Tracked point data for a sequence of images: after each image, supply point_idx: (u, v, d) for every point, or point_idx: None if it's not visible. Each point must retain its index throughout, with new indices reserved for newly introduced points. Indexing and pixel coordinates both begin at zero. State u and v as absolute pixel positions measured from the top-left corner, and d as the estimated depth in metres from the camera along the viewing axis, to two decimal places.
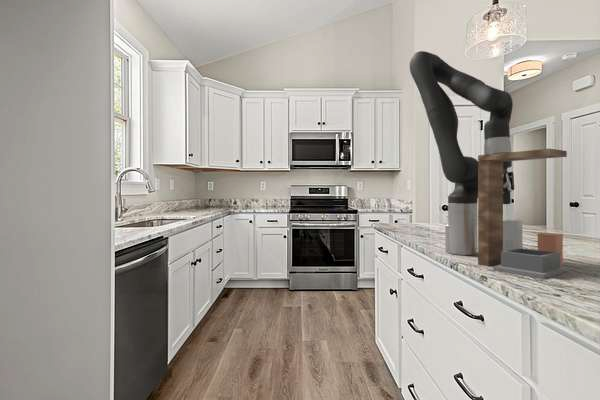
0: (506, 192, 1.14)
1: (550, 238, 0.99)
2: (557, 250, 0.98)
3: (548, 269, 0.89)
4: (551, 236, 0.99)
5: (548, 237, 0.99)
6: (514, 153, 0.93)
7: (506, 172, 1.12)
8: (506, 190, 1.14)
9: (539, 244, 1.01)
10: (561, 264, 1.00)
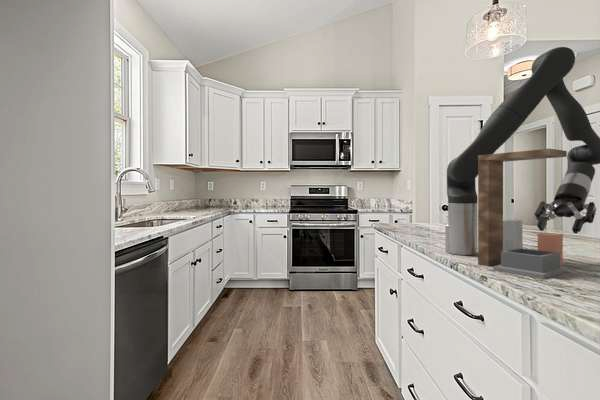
0: (545, 220, 1.08)
1: (550, 238, 0.99)
2: (557, 250, 0.98)
3: (548, 269, 0.89)
4: (551, 236, 0.99)
5: (548, 237, 0.99)
6: (514, 153, 0.93)
7: None
8: (545, 218, 1.09)
9: (539, 244, 1.01)
10: (561, 264, 1.00)
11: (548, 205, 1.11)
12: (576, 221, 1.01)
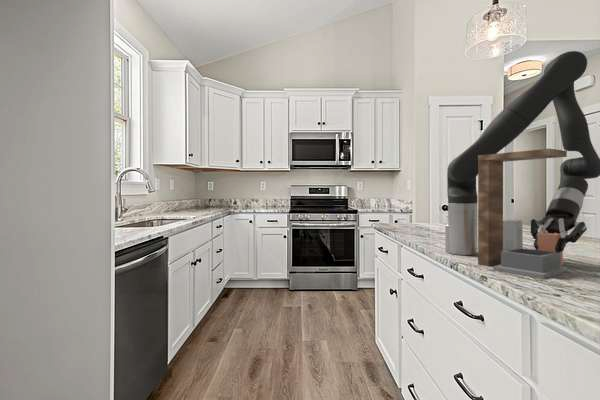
0: None
1: (550, 238, 0.99)
2: None
3: (548, 269, 0.89)
4: (551, 236, 0.99)
5: (548, 237, 0.99)
6: (514, 153, 0.93)
7: None
8: None
9: (539, 244, 1.01)
10: (561, 264, 1.00)
11: (539, 222, 1.07)
12: (559, 240, 0.98)
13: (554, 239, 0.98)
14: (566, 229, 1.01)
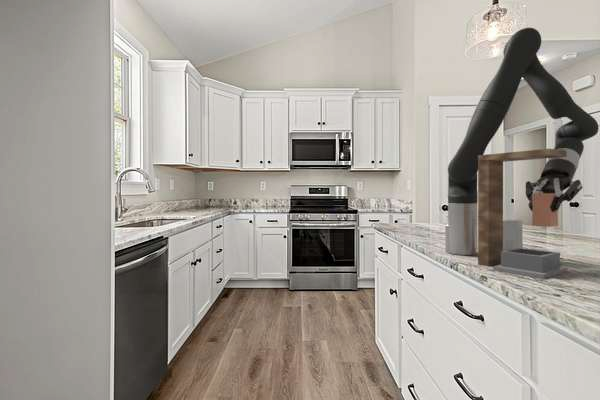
0: None
1: (545, 197, 0.97)
2: None
3: (548, 269, 0.89)
4: (546, 195, 0.97)
5: (543, 196, 0.97)
6: (514, 153, 0.93)
7: None
8: None
9: (534, 204, 0.99)
10: (556, 224, 0.98)
11: (535, 184, 1.05)
12: (554, 199, 0.96)
13: (549, 198, 0.96)
14: (561, 188, 0.99)
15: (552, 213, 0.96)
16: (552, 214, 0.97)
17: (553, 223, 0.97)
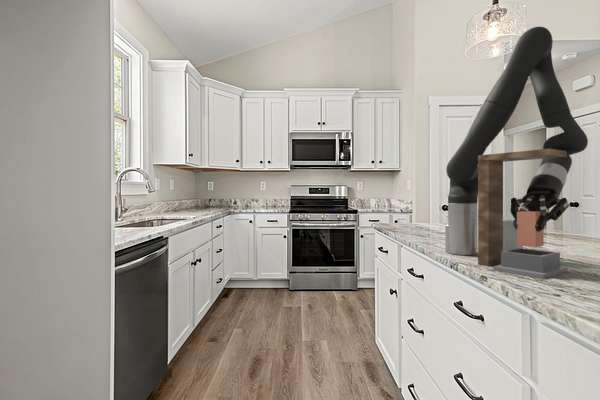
0: None
1: (530, 216, 0.92)
2: None
3: (548, 269, 0.89)
4: (531, 213, 0.92)
5: (528, 215, 0.93)
6: (514, 153, 0.93)
7: None
8: None
9: (518, 222, 0.94)
10: (542, 244, 0.93)
11: (520, 200, 1.00)
12: (539, 218, 0.92)
13: (534, 216, 0.91)
14: (547, 206, 0.94)
15: (537, 233, 0.92)
16: (538, 234, 0.92)
17: (538, 243, 0.92)
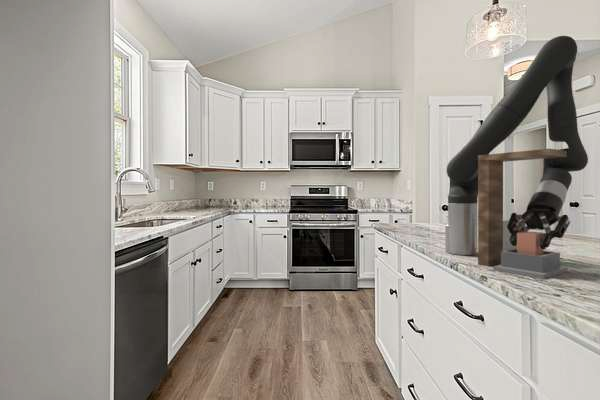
0: None
1: (530, 238, 0.92)
2: (537, 250, 0.92)
3: (548, 269, 0.89)
4: (531, 235, 0.92)
5: (528, 237, 0.93)
6: (514, 153, 0.93)
7: None
8: (519, 232, 0.98)
9: (518, 244, 0.95)
10: None
11: (520, 216, 1.01)
12: (544, 236, 0.91)
13: (534, 239, 0.91)
14: (549, 224, 0.94)
15: None
16: None
17: None
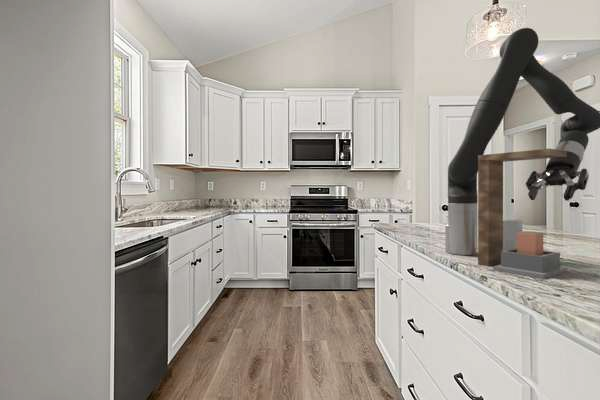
0: (536, 189, 1.05)
1: (530, 238, 0.92)
2: (537, 250, 0.92)
3: (548, 269, 0.89)
4: (531, 235, 0.92)
5: (528, 237, 0.93)
6: (514, 153, 0.93)
7: None
8: (537, 187, 1.05)
9: (518, 244, 0.95)
10: None
11: (540, 174, 1.07)
12: (568, 188, 0.97)
13: (534, 239, 0.91)
14: None
15: None
16: None
17: None
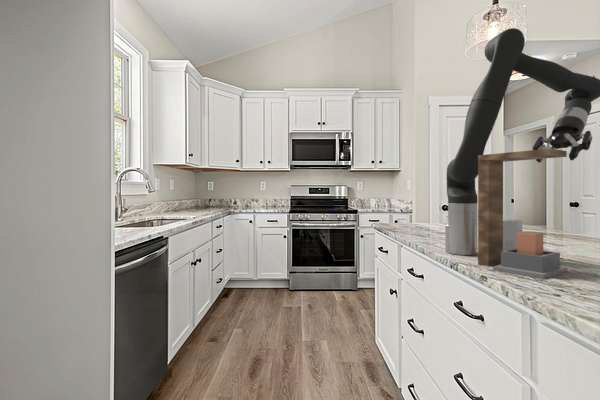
0: None
1: (530, 238, 0.92)
2: (537, 250, 0.92)
3: (548, 269, 0.89)
4: (531, 235, 0.92)
5: (528, 237, 0.93)
6: (514, 153, 0.93)
7: None
8: None
9: (518, 244, 0.95)
10: None
11: (546, 139, 1.14)
12: (573, 148, 1.03)
13: (534, 239, 0.91)
14: None
15: None
16: None
17: None
